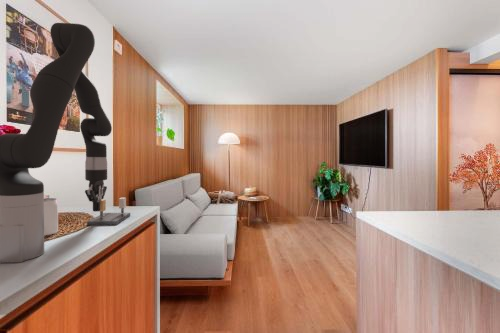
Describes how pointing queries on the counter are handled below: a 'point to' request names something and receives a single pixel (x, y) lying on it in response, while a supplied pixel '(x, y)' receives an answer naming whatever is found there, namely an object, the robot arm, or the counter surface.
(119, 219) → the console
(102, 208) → the knob
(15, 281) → the counter surface
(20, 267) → the counter surface
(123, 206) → the knob
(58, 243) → the counter surface
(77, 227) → the counter surface
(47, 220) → the can
